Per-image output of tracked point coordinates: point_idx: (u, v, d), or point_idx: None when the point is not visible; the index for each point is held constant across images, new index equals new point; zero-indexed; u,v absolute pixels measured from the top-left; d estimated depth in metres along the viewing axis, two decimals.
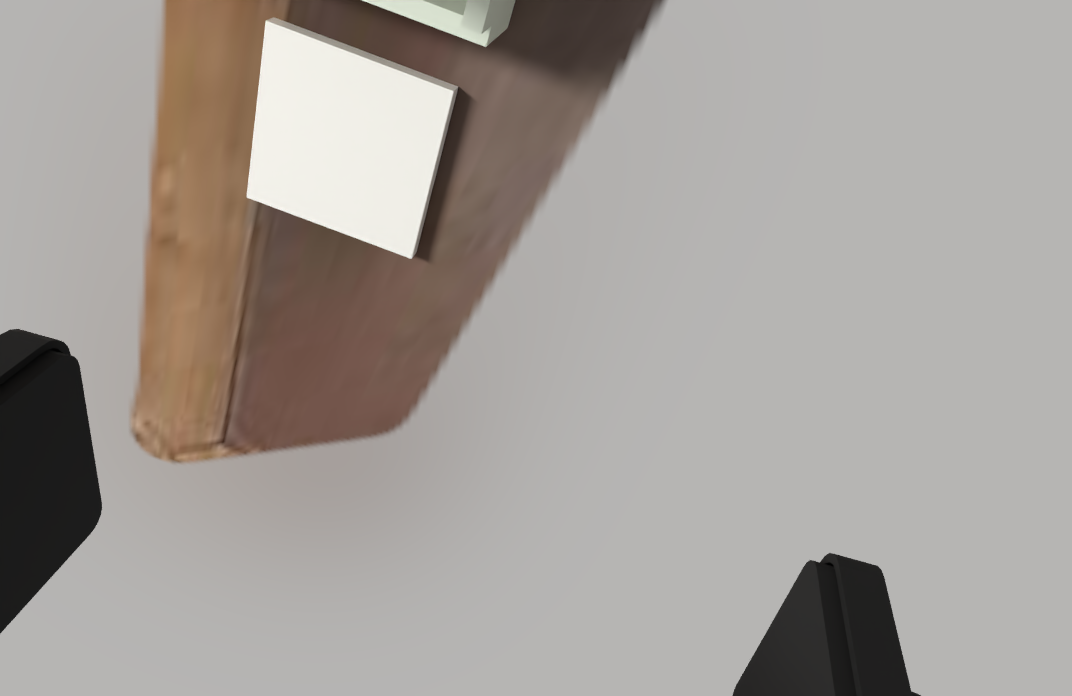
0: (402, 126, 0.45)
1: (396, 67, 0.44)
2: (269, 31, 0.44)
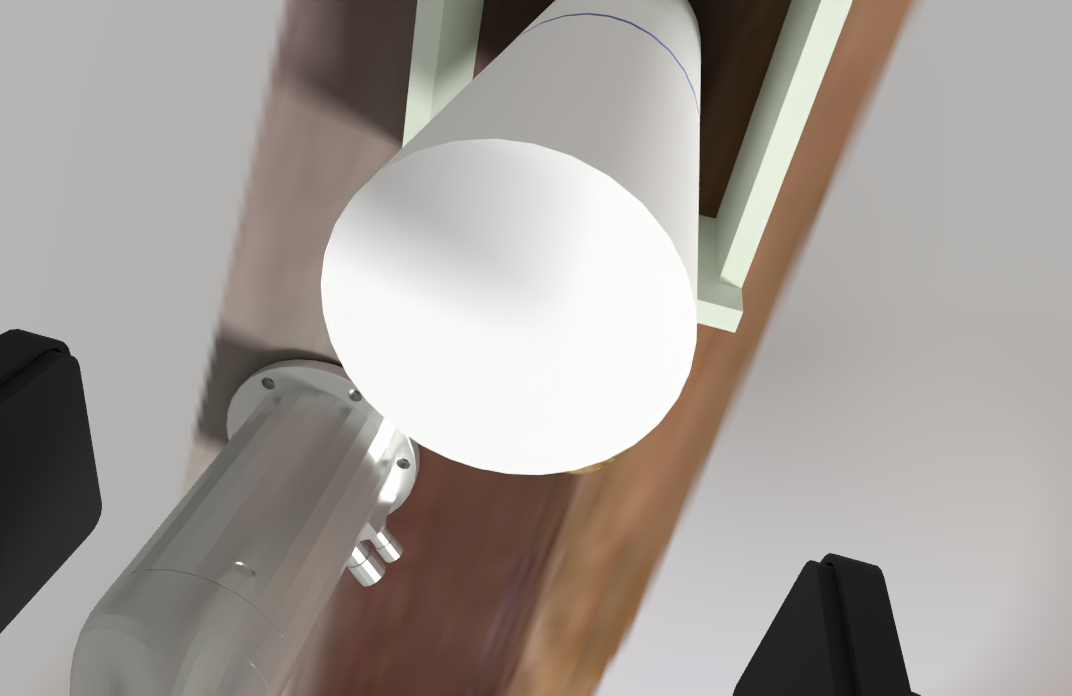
0: None
1: None
2: None
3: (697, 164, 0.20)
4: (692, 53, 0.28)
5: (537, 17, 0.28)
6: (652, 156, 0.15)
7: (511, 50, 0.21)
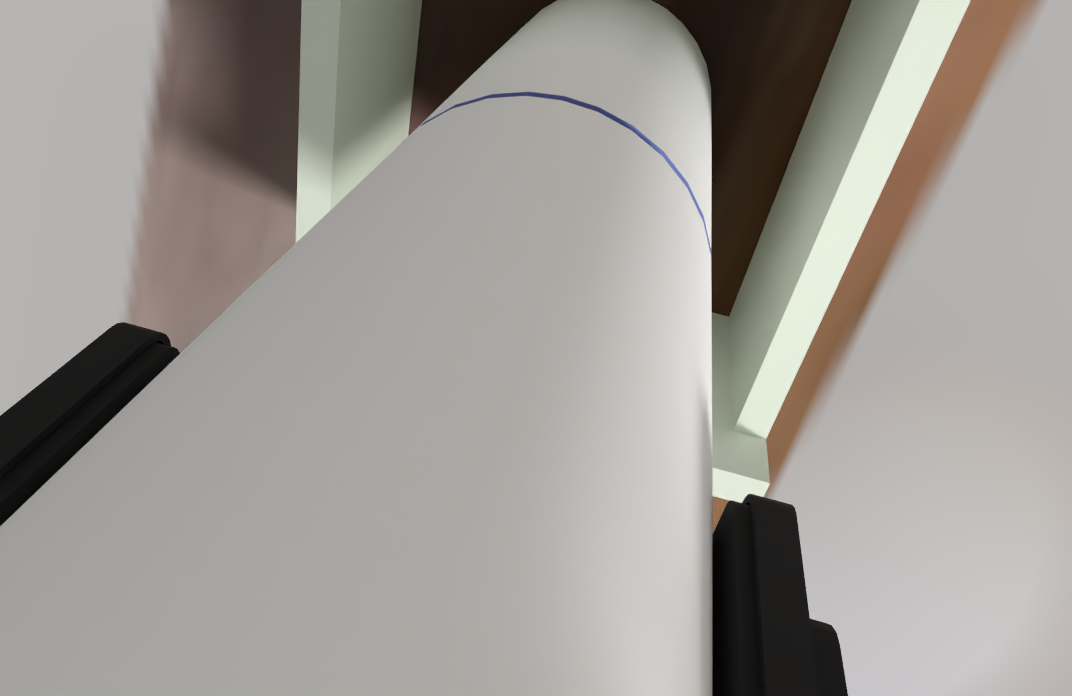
0: None
1: None
2: None
3: (709, 395, 0.11)
4: (700, 133, 0.18)
5: (469, 77, 0.19)
6: (602, 562, 0.06)
7: (376, 179, 0.12)
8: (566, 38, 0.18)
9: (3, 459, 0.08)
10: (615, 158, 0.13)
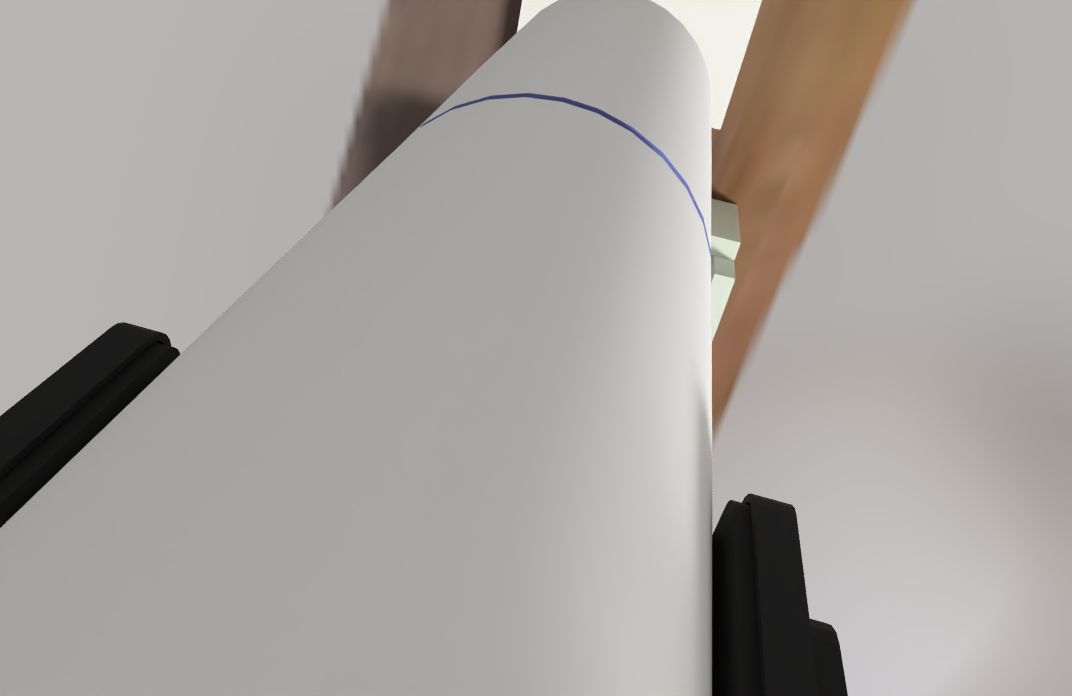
0: None
1: None
2: (718, 118, 0.40)
3: (709, 397, 0.11)
4: (699, 134, 0.18)
5: None
6: (602, 567, 0.06)
7: (375, 181, 0.12)
8: (565, 39, 0.18)
9: (3, 459, 0.08)
10: (614, 160, 0.13)
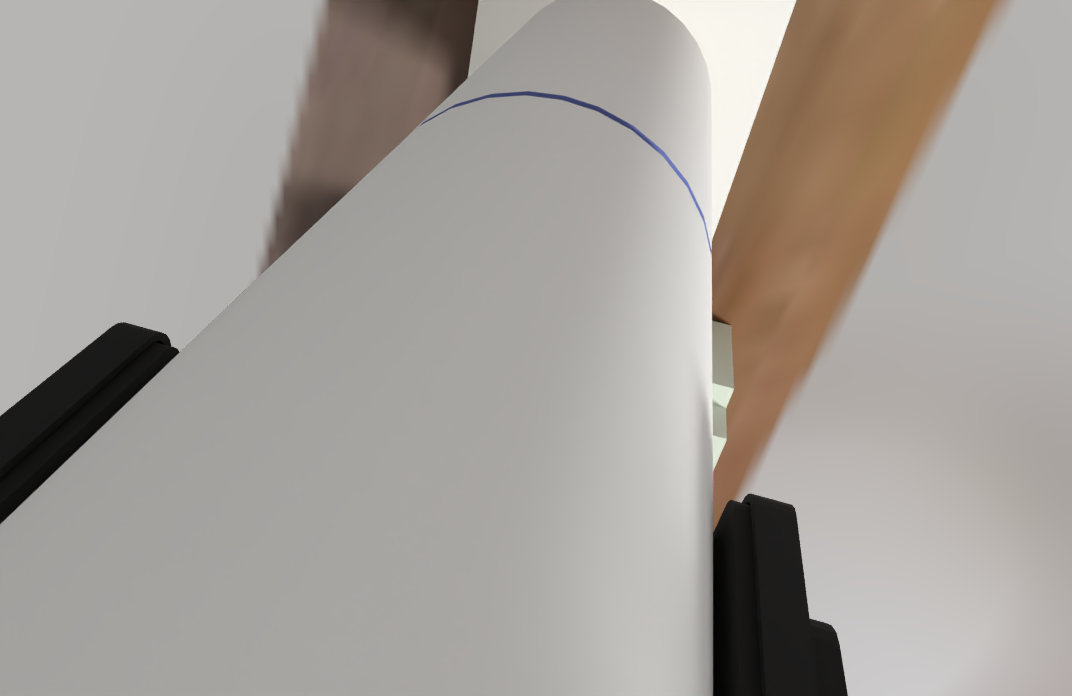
0: None
1: None
2: None
3: (710, 396, 0.11)
4: (700, 133, 0.18)
5: None
6: (602, 565, 0.06)
7: (375, 179, 0.12)
8: (566, 38, 0.18)
9: (3, 459, 0.08)
10: (615, 158, 0.13)
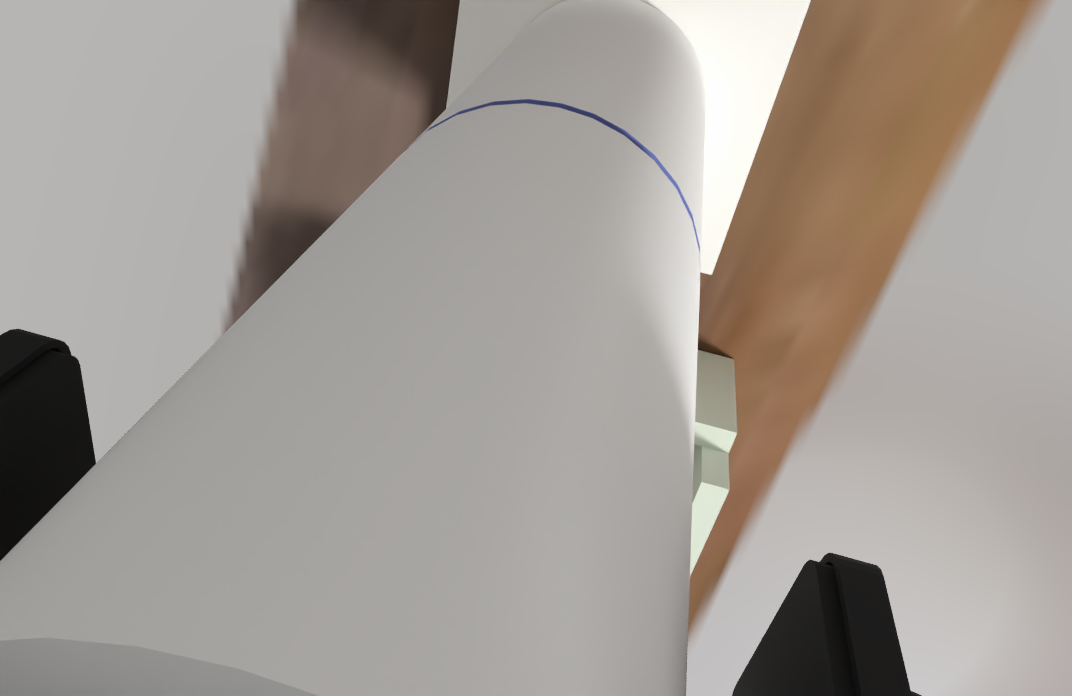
0: None
1: None
2: (708, 261, 0.30)
3: (693, 381, 0.12)
4: (691, 135, 0.19)
5: (472, 82, 0.20)
6: (587, 520, 0.07)
7: (387, 184, 0.13)
8: (564, 45, 0.19)
9: None
10: (608, 163, 0.14)
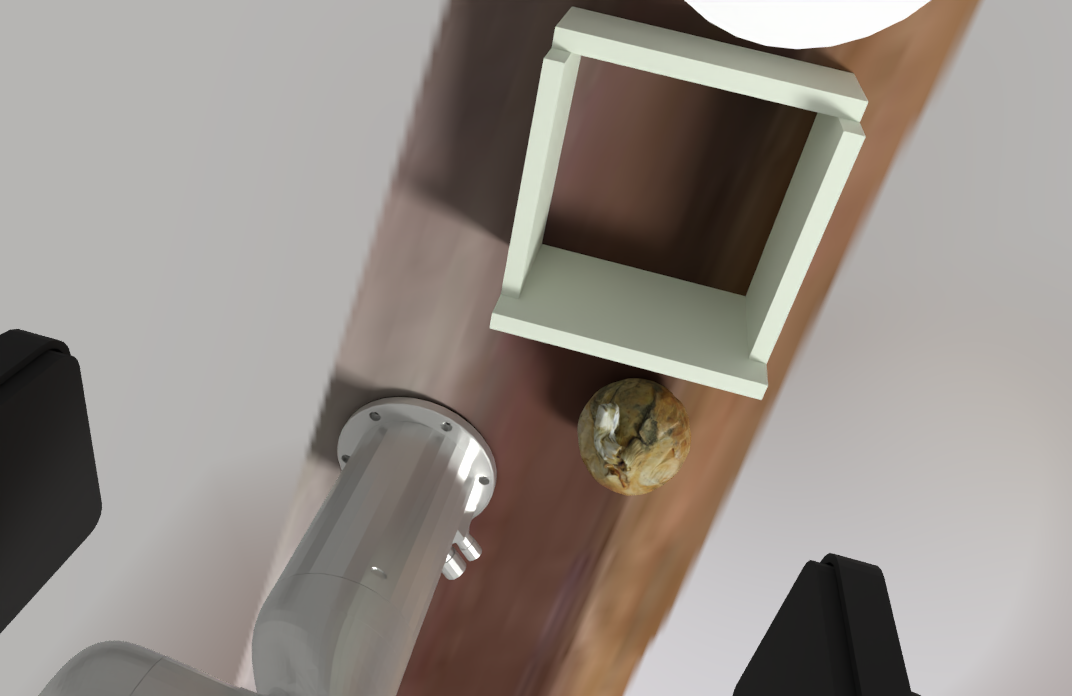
0: None
1: None
2: None
3: None
4: None
5: None
6: None
7: None
8: None
9: None
10: None
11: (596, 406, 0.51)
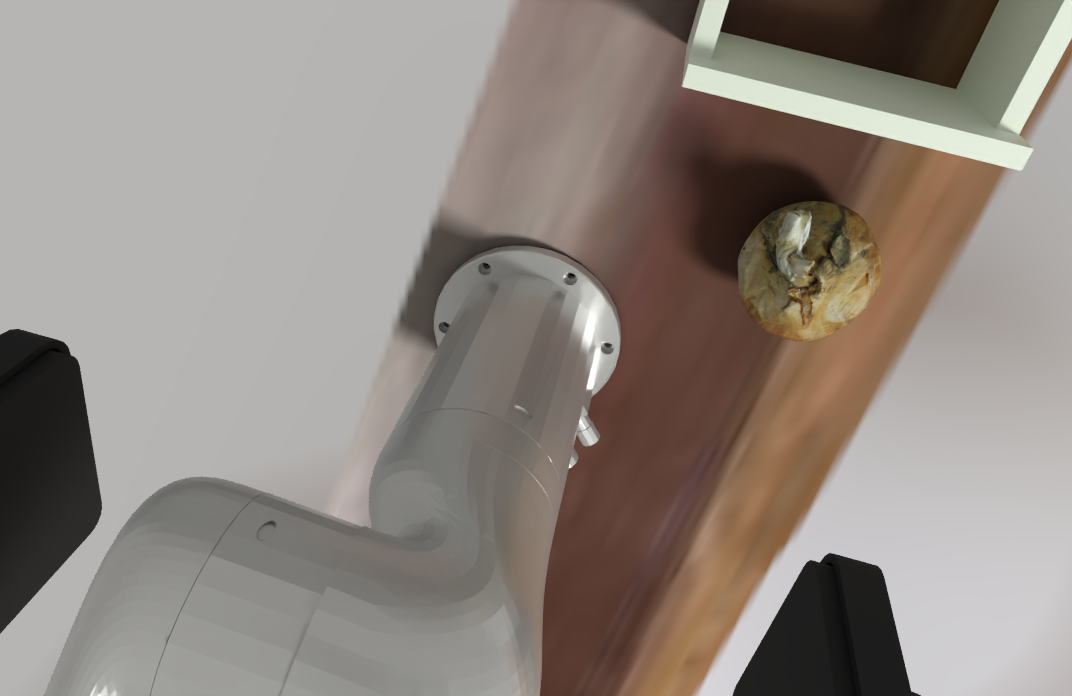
0: None
1: None
2: None
3: None
4: None
5: None
6: None
7: None
8: None
9: None
10: None
11: (771, 228, 0.43)
